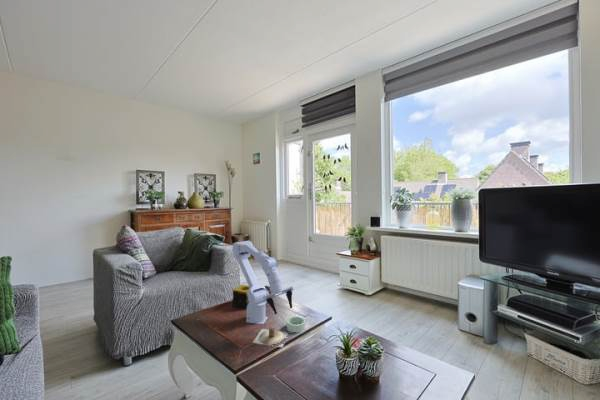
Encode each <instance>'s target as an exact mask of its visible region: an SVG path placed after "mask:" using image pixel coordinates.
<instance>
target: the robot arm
mask: <svg viewBox="0 0 600 400" xmlns="http://www.w3.org/2000/svg"><path fill="white" fill-rule="evenodd" d="M232 253H233V255H234V257H235V259H236V260H237V262H238V264H239V267H240V269H241V272H242V274H243V276H244V278H245V281H246V283H247V286H249V288H250V289H249V290H248V292H247V295H248V300H249V303H248V305H247V309H246V318H245V319H246V321H245V322H246V323H251V324H256V325H264V324H265V322H266V321H267V319H268V318H269V317H268V316H266V310H267V309H266V306H267V305H266V304H268V305H269V306H270V307H271V309H272V311H273V312H274V315H277V314H278V313H277V308H276V307H275V303H274V299H273V298H276V297H279V296H282V295H284V294H285V296H286V298H287V301H288V305H289V308H290V309H293V300H292V297H293V291H294V287H293V285H292V286H289V287H285V288H284V287H283V283H282V280H281V277H280V273H279V271H278V265H279V264H278V260H277V258H276V257H275V256H273V257H270V256H269V255H268V254H267V253H265V252H264V251H263V250H258V249H257V248H256V247H255V246H254V244H253V242H252V241H251V240H249V239H248V240H243V241H236V242H234V243H233V244H232ZM251 256H253V257H254V258H253V259H254V261H255V262H257V263H258V264H260V266H261V270H262V271H263V272H264V274H265V275H266V277H267V280H268V286H270V289H271V291H272V294H269V292H268V291H267V290H266V288H265V287H264V286H265V285H264V284H260V282H259V281H258V279H257V276H256V274H255V272H254V269H253V268H252V265H251V262H250V261H249V258H250V257H251ZM267 302H268V303H267Z"/></svg>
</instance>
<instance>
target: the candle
mask: <svg viewBox="0 0 600 400" xmlns="http://www.w3.org/2000/svg"><path fill="white" fill-rule="evenodd" d="M249 289H250V288H249V285H248V284H247V285H245V284H240V285H238V286H237V287H235V288H234V289H232V300H231V302H232V304H231V306H232V307H233V308H238V309H243V310H247V305H248V303H249V300H248V295H247V292H248V290H249Z"/></svg>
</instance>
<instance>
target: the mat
mask: <svg viewBox="0 0 600 400" xmlns="http://www.w3.org/2000/svg"><path fill="white" fill-rule="evenodd" d="M267 330H269V328H268V329H267V328H261V329H260V331H259V332H258V334H257V335H256V337H255V338H254V340H253V341H252V343H253V344H258V345H264V346H271V345H272V344H271V345H270V344H265V343H263V342H261V341H260V335H261V333H263V332H264V331H267ZM279 331H280V332H282V333H283V335H284V338H287V339H288V337H286V336H287V335H288V334H287V332H288V331H281V330H279ZM288 336H289V335H288ZM284 338H283V339H284ZM284 345H285V343H284V344H281V345H279V346H277V347H276V348H283V347H284ZM271 347H274V346H273V345H272V346H271Z"/></svg>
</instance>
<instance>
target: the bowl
mask: <svg viewBox="0 0 600 400" xmlns="http://www.w3.org/2000/svg"><path fill="white" fill-rule="evenodd" d="M298 324H299V325H298ZM304 329H305V330H306V319H305V318H304V317H302V316H296V315H295V316H290V317H288V318H287V319H286V330H287V332H289V333H292V332H296V333H295V334H298V333H297V332H301V331H303V330H304ZM305 330H304V331H305ZM304 331H303V332H304ZM301 333H302V332H301Z"/></svg>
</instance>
